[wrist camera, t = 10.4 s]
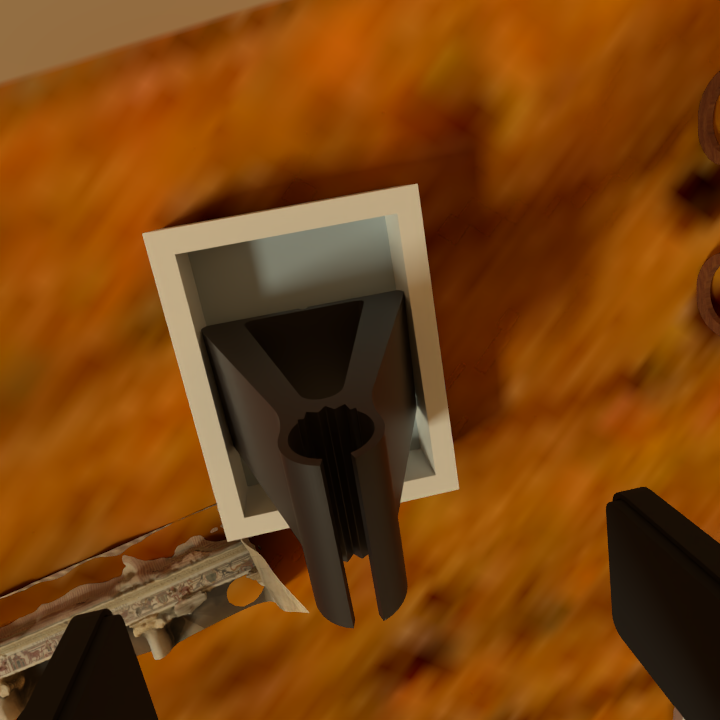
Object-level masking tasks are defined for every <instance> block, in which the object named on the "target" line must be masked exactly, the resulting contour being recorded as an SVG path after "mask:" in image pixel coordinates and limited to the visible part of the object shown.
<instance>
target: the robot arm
mask: <svg viewBox="0 0 720 720" xmlns="http://www.w3.org/2000/svg"><path fill="white" fill-rule="evenodd" d="M606 517H607V534H608V550H609V567H610V584H611V600H612V616H613V621H614V624H615V627H616V629H617V631H618V633H619V635H620V636H621V638H622V639H623V641H624V642H625V643H626V644H627V646H628V647H629V648H630V650H631V651H632V652H633V653H634V655H635V656H636V657H637V659H638V660H639V661H640V663H641V664H642V665H643V666H644V668H645V669H646V670H647V672H648V673H649V674H650V675H651V677H652V678H653V679H654V681H655V682H656V683H657V684H658V686H659V687H660V688H661V690H662V691H663V692H664V693H665V695H666V696H667V697H668V699H669V700H670V701H671V702H672V704H673V705H674V706H675V707H674V716H673V720H720V544H719V543H718V542H717V541H715V540H714V539H713V538H712V537H710V536H709V535H708V534H706V533H705V532H704V531H703V530H701V529H700V528H699V527H698V526H696V525H695V524H694V523H692V522H691V521H690V520H689V519H687V518H686V517H685V516H683V515H682V514H681V513H680V512H678V511H677V510H676V509H674V508H673V507H672V506H671V505H669V504H668V503H667V502H665V501H664V500H663V499H662V498H660V497H659V496H658V495H656V494H655V493H654V492H653V491H651V490H650V489H648V488H647V487H640V488H635V489H631V490H626V491H622V492H618V493H616V494H614V497H613V502H609V503H608V504H607V506H606ZM16 720H158V717H157V714H156V711H155V709H154V706H153V703H152V700H151V697H150V694H149V691H148V688H147V685H146V683H145V680H144V677H143V674H142V671H141V668H140V665H139V662H138V659H137V657H136V654H135V651H134V648H133V645H132V642H131V639H130V636H129V633H128V631H127V628H126V625H125V622H124V619H123V617H122V616H121V615H120V614H116V615H113V614H112V612H111V611H110V610H109V609H107V608H105V609H101V610H96V611H92V612H88V613H83V614H79V615H76V616H74V617H73V618H72V619H71V620H70V622H69V624H68V626H67V628H66V630H65V632H64V634H63V636H62V638H61V639H60V641H59V643H58V645H57V647H56V649H55V651H54V653H53V655H52V657H51V659H50V661H49V662H48V664H47V666H46V668H45V670H44V672H43V674H42V676H41V678H40V680H39V682H38V684H37V685H36V687H35V689H34V691H33V693H32V695H31V697H30V699H29V701H28V703H27V705H26V706H25V708H24V710H23V711H22V712H21V714H20V715H19V716H18V718H17V719H16Z"/></svg>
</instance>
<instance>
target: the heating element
mask: <svg viewBox="0 0 720 720" xmlns="http://www.w3.org/2000/svg"><path fill="white" fill-rule="evenodd" d="M215 505H217V504H215ZM213 506H214V505H213ZM211 507H212V506H211ZM208 508H210V507H208ZM206 509H207V508H206ZM204 510H205V509H204ZM217 510H218V511H219V509H217ZM201 511H202V510H201ZM199 512H200V511H199ZM196 513H197V512H196ZM194 514H195V513H194ZM189 516H190V515H189ZM182 519H183V518H182ZM168 525H170V524H168ZM168 525H166V526H164V527H162V528H159V529H157V530H155V531H153V532H150V533H148V534H146V535H144V536H141V537H139V538H137V539H135V540H133V541H130V542H128V543H126V544H124V545H121V546H119V547H117V548H115V549H113V550H110V551H108V552H106V553H103V554H101V555H98V556H95V557H92V558H90V559H87V560H85V561H82V562H80V563H78V564H76V565H73V566H71V567H69V568H67V569H64V570H62V571H60V572H57V573H55V574H53V575H51V576H48V577H46V578H43V579H41V580H38V581H36V582H34V583H31V584H29V585H27V586H25V587H23V588H22V589H19V590H17V591H15V592H12V593H10V594H8V595H5V596H3V597H0V598H4V597H7V596H9V595H12V594H14V593H17V592H21V591H23V590H26V589H27V588H29V587H31V586H33V585H35V584H37V583H40V582H43V581H48V580H53V579H57V578H59V577H62V576H64V575H65V574H67V573H68V572H69V571H71V570H72V569H73V568H74V567H76V566H78V565H80V564H82V563H84V562H86V561H88V560H91V559H93V558H97V557H107V556H116V555H119V554H121V553H122V552H124V551H125V550H126V549H127V548H128V547H130V546H131V545H133V544H136V543H138V542H140V541H142V540H143V539H145V538H146V537H147V536H149V535H150V534H152V533H154V532H156V531H159V530H161V529H163V528H165V527H167V526H168ZM220 527H223V524H222V525H221V526H220ZM217 530H218V528H214V529H212V530H211V531H210V533H213V532H215V531H217ZM258 548H259V549H260V550H261V547H260V546H259V545H258ZM122 561H123V563H124V564H125V565H126V567H125V568H124V569H123V573H122V575H121V576H120V577H117V578H113V579H112V580H110V581H108V582H104V583H95V584H86V585H81V586H79V587H77V588H75V589H73V590H71V591H69V592H68V593H67V594H66V595H64V596H63V597H61V598H59V599H57V600H55V601H53V602H51V603H48V604H42V605H41V606H40V607H39V608H38V609H37V610H36V611H35V612H34V613H32V614H29V615H27V616H25V617H22V618H19V619H17V620H16V621H14V622H13V623H11V624H10V625H7V626H5V627H2V628H0V720H15V719H16V718H17V717H18V716H19V715H20V714H21V712H22V711H23V710H24V708H25V706H26V705H27V703H28V701H29V699H30V697H31V695H32V693H33V691H34V689H35V687H36V685H37V684H38V682H39V680H40V678H41V676H42V674H43V672H44V670H45V668H46V666H47V664H48V662H49V661H50V659H51V657H52V655H53V653H54V651H55V649H56V647H57V645H58V643H59V641H60V639H61V638H62V636H63V634H64V632H65V630H66V628H67V626H68V624H69V622H70V620H71V619H72V618H73V617H74V616H76V615H79V614H83V613H88V612H92V611H96V610H101V609H105V608H107V609H109V610H110V611H111V612H112V614H113V615H116V614H120V615H121V616H122V617H123V619H124V622H125V625H126V628H127V631H128V633H129V636H130V639H131V642H132V645H133V648H134V651H135V654H136V656H138V655H141V654H144V653H147V652H150V651H152V653H153V656H154V659H155V660H159V659H161V658H163V657H165V656H166V655H167V654H168V653H169V652H170V651H171V649H172V648H173V647H174V646H175V645H176V644H177V643H179V642H180V641H182V640H184V639H186V638H187V637H189V636H191V635H193V634H195V633H197V632H199V631H201V630H203V629H205V628H207V627H209V626H211V625H213V624H215V623H217V622H219V621H221V620H223V619H225V618H227V617H229V616H231V615H233V614H235V613H237V612H239V611H241V610H244V609H246V608H248V607H251V606H253V605H256V604H259V603H262V602H267V601H272V602H275V603H277V605H278V606H279V607H280V608H281V609H282V610H284V611H289V612H307V613H309V612H308V611H307V610H306V608H305V607H304V606H303V605H302V604H301V603H300V602H299V601H298V600H297V599H296V598H295V597H294V596H293V595H292V594H291V592H290V591H289V590H288V589H287V588H286V587H285V586H284V585H283V584H282V583H281V581H280V580H279V579H278V578H277V576H276V575H275V574H274V573H273V571H272V570H271V568H270V567H269V565H268V564H267V562H266V561H265V559H264V558H263V557H262V556H261V555H260V554H259V553H258V552H256V549H255V545H254V544H251V543H250V541H249V539H248V537H247V538H242V539H238V540H234V541H229V542H227V540H222V541H218V542H213V541H207V540H205V539H204V537H202V536H200V535H199V536H194V537H191V538H190V539H189V540H188V541H187V542H186V543H184V544H181V545H180V546H178V547H177V548H176V550H175V554H174V555H173V556H172V558H159V559H156V560H149V561H143V560H139V559H136V558H135V557H130V556H126V555H123V557H122ZM246 574H247V578H251V579H252V580H257V581H258V583H259V584H261V585H262V586H264V589H263V591H262V593H261V594H260V595H259V597H258V598H257V599H256V600H255V601H254V602H252V603H250V604H248V605H246V606H244V607H240V606H234V605H232V604H231V603H229V601H228V599H227V589H228V587H229V585H230V584H231V582H233V581H234V580H235V579H236V578H239V577H242V576H243V575H246Z"/></svg>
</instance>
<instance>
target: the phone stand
mask: <svg viewBox="0 0 720 720" xmlns="http://www.w3.org/2000/svg"><path fill="white" fill-rule="evenodd" d="M201 332H202V336H203V340H204V343H205V347H206V350H207V354H208V357H209V361H210V364H211V368H212V371H213V375H214V379H215V382H216V386H217V389H218V393H219V396H220V400H221V403H222V407H223V410H224V414H225V417H226V421H227V425H228V428H229V432H230V435H231V439H232V442H233V446H234V447H235V449H236V450H237V452H238V453H239V455H240V456H241V457H242V459H243V460H244V462H245V463H246V465H247V466H248V468H249V469H250V471H251V472H252V473H253V475H254V476H255V478H256V479H257V481H258V482H259V484H260V485H261V487H262V488H263V489H264V491H265V492H266V494H267V495H268V497H269V498H270V500H271V501H272V502H273V504H274V505H275V507H276V508H277V510H278V511H279V513H280V514H281V516H282V517H283V518H284V520H285V521H286V523H287V524H288V526H289V527H290V529H291V530H292V531H293V533H294V534H295V536H296V537H297V539H298V540H299V542H300V543H301V545H302V547H303V552H304V556H305V560H306V564H307V568H308V572H309V576H310V580H311V585H312V589H313V593H314V597H315V601H316V605H317V607H318V609H319V611H320V612H321V613H322V615H323V616H324V617H325V618H326V619H328V620H329V621H331V622H332V623H334V624H337V625H339V626H343V627H347V628H354V623H355V617H354V612H353V607H352V603H351V598H350V593H349V588H348V583H347V578H346V573H345V568H344V563H343V561H346V562H348V561H349V560H350V558H351V557H352V555H353V554H355V555H357V556H359V557H360V558H364V557H365V556H366V555H368V554H369V560H370V565H371V571H372V577H373V582H374V588H375V593H376V599H377V605H378V610H379V615H380V616H381V618H382V619H383V621H384V620H386V619H388V618H389V617H390V616H392V615H393V614H394V613H395V612H396V611H397V610H398V609H399V607H400V606H401V605H402V603H403V601H404V599H405V596H406V593H407V578H406V571H405V564H404V557H403V550H402V543H401V536H400V529H399V522H398V512H399V507H400V501H401V495H402V490H403V484H404V478H405V473H406V467H407V461H408V456H409V450H410V444H411V439H412V433H413V427H414V422H415V416H416V410H417V404H416V395H415V386H414V377H413V368H412V359H411V350H410V341H409V332H408V324H407V315H406V306H405V297H404V291H401V290H394V291H389V292H384V293H378V294H373V295H368V296H363V297H357V298H352V299H347V300H341V301H336V302H331V303H325V304H320V305H315V306H310V307H307V308H306V309H294V310H288V311H283V312H278V313H272V314H267V315H262V316H257V317H251V318H246V319H241V320H235V321H230V322H225V323H220V324H214V325H209V326H206V327H204V328H202V329H201Z"/></svg>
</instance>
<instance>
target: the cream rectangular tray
mask: <svg viewBox="0 0 720 720" xmlns="http://www.w3.org/2000/svg"><path fill="white" fill-rule="evenodd" d="M142 235H143V239H144V242H145V246H146V250H147V253H148V257H149V260H150V264H151V268H152V271H153V275H154V278H155V282H156V286H157V289H158V293H159V296H160V300H161V304H162V307H163V311H164V315H165V318H166V322H167V325H168V329H169V333H170V336H171V340H172V343H173V347H174V351H175V354H176V358H177V361H178V365H179V369H180V372H181V376H182V380H183V383H184V387H185V390H186V394H187V398H188V401H189V405H190V408H191V412H192V416H193V419H194V423H195V426H196V430H197V434H198V437H199V441H200V444H201V448H202V452H203V455H204V459H205V463H206V466H207V470H208V473H209V477H210V481H211V484H212V488H213V491H214V495H215V499H216V502H217V506H218V509H219V513H220V517H221V520H222V524H223V528H224V531H225V535H226V538H227V542H229V541H234V540H238V539H242V538H247V537H251V536H256V535H260V534H264V533H269V532H273V531H278V530H282V529H286V528H290V527H289V526H288V524H287V523H286V521H285V520H284V518H283V517H282V516H281V514H280V513H279V511H278V510H277V508H276V507H275V505H274V504H273V502H272V501H271V500H270V498H269V497H268V495H267V494H266V492H265V491H264V489H263V488H262V487H261V485H260V484H259V482H258V481H257V479H256V478H255V476H254V475H253V473H252V472H251V471H250V469H249V468H248V466H247V465H246V463H245V462H244V460H243V459H242V457H241V456H240V455H239V453H238V452H237V450H236V449H235V447H234V446H233V442H232V439H231V435H230V432H229V428H228V425H227V421H226V417H225V414H224V410H223V407H222V403H221V400H220V396H219V393H218V389H217V386H216V382H215V379H214V375H213V371H212V368H211V364H210V361H209V357H208V354H207V350H206V347H205V343H204V340H203V336H202V332H201V329H202V328H204V327H206V326H209V325H214V324H220V323H225V322H230V321H235V320H241V319H246V318H251V317H257V316H262V315H267V314H272V313H278V312H283V311H288V310H294V309H306V308H307V307H310V306H315V305H320V304H325V303H331V302H336V301H341V300H347V299H352V298H357V297H363V296H368V295H373V294H378V293H384V292H389V291H394V290H401V291H404V297H405V306H406V315H407V324H408V332H409V341H410V350H411V359H412V368H413V377H414V386H415V395H416V404H417V410H416V416H415V422H414V427H413V433H412V439H411V444H410V450H409V456H408V461H407V467H406V473H405V478H404V484H403V490H402V495H401V501H400V502H405V501H409V500H413V499H418V498H422V497H427V496H431V495H435V494H440V493H444V492H449V491H453V490H457V489H459V485H458V477H457V470H456V462H455V455H454V448H453V440H452V433H451V426H450V418H449V411H448V403H447V396H446V389H445V381H444V374H443V367H442V359H441V352H440V344H439V337H438V330H437V322H436V315H435V308H434V300H433V293H432V285H431V278H430V271H429V263H428V256H427V249H426V241H425V234H424V226H423V219H422V212H421V204H420V197H419V190H418V184H410V185H401V186H394V187H389V188H383V189H378V190H372V191H367V192H361V193H355V194H350V195H344V196H339V197H333V198H328V199H322V200H317V201H311V202H306V203H300V204H295V205H289V206H283V207H278V208H272V209H267V210H261V211H256V212H250V213H245V214H239V215H234V216H228V217H223V218H217V219H211V220H206V221H200V222H195V223H189V224H184V225H178V226H173V227H167V228H162V229H158V230H154V231H150V232H146V233H142Z"/></svg>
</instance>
